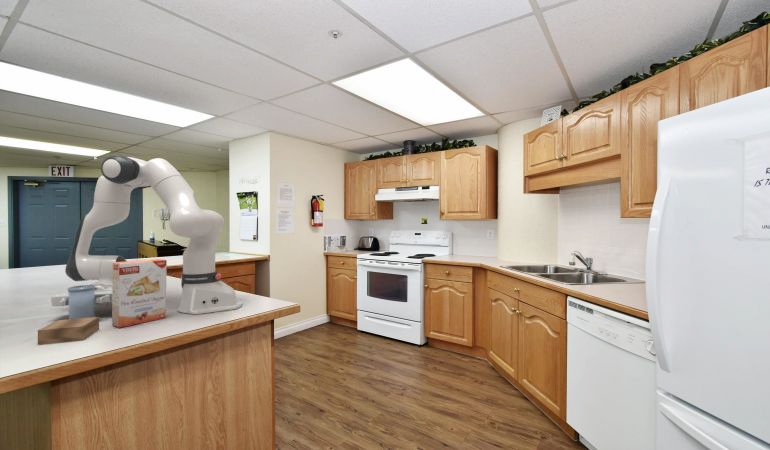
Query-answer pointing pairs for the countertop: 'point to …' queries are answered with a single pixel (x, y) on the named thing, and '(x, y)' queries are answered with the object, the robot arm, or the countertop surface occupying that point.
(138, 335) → the countertop surface
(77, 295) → the canister
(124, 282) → the cracker box
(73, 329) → the plinth
